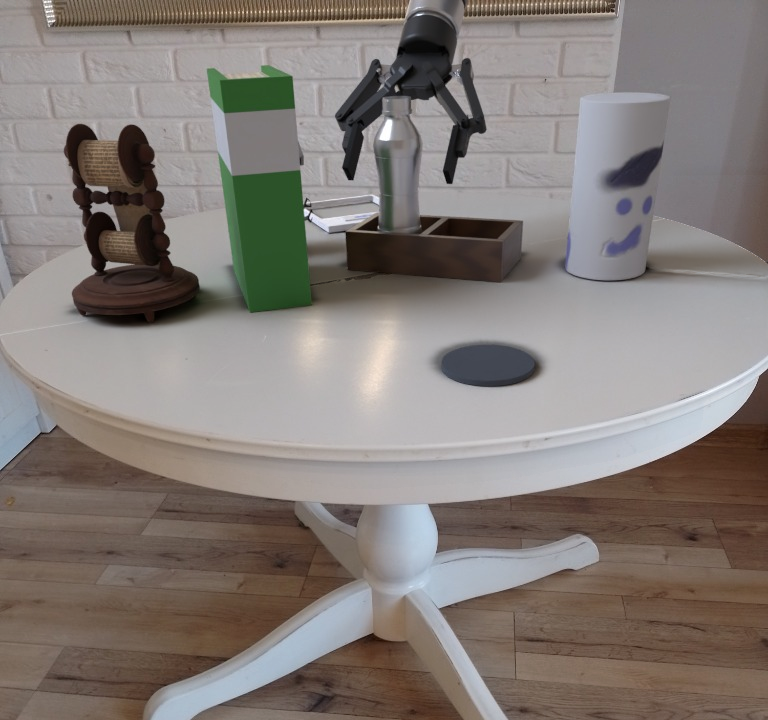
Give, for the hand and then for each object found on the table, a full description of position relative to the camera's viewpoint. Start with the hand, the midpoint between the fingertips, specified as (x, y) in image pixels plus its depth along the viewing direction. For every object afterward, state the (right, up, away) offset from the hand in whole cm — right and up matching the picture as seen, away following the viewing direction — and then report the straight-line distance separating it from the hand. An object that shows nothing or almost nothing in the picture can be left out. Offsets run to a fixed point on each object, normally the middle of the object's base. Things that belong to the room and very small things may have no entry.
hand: (396, 176), depth 102 cm
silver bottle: (+1, -9, +6) cm, 11 cm away
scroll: (-31, -19, -6) cm, 37 cm away
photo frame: (-7, +6, +30) cm, 31 cm away
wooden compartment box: (+5, -10, +5) cm, 12 cm away
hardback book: (-16, -15, -1) cm, 22 cm away
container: (+27, -12, 0) cm, 30 cm away
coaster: (+9, -29, -25) cm, 40 cm away
